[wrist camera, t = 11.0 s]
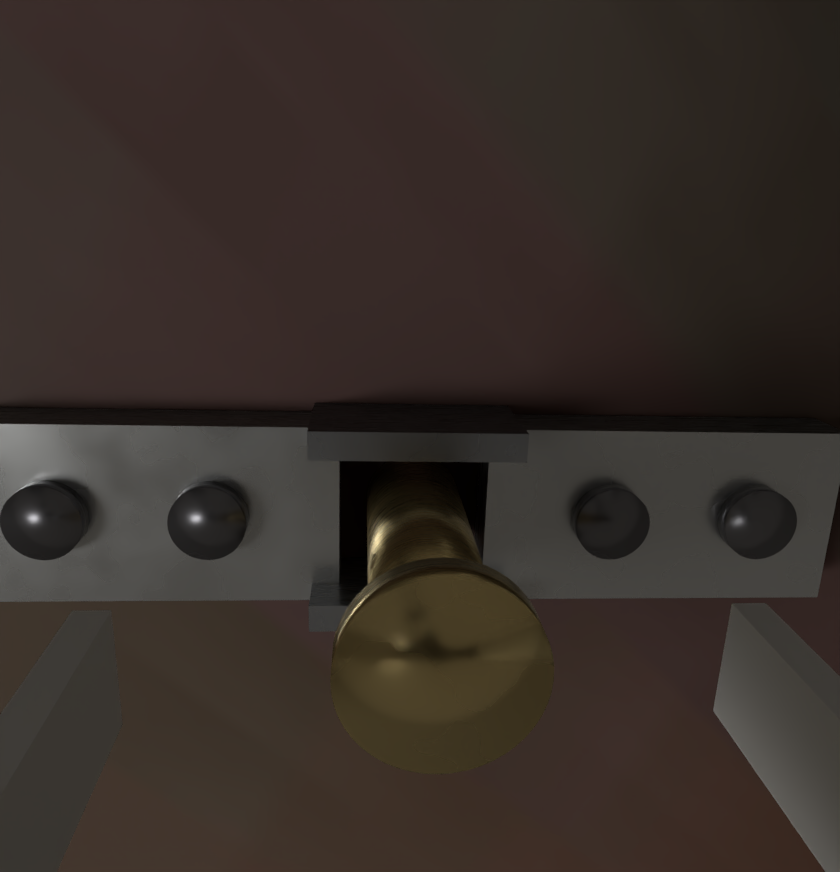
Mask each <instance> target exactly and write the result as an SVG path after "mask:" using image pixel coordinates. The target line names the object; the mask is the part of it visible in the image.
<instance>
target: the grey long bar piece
mask: <svg viewBox="0 0 840 872" xmlns="http://www.w3.org/2000/svg"><path fill="white" fill-rule="evenodd" d="M341 461H397V462H479V467H478V485H477V503H476V520H475V538H474V539H475V542H476V545H477V548H478V551H479V554H480V557H481V560H482V563H483V565H486V566H488V567H490V568H492V569H494V570H496V571H498V572H500V573H501V574H503V575H504V576H506V577H508V578H509V579H510V580H511V581H512V582H514V583H515V584H516V585H517V586H518V587H519V588H520V589H521V590H522V591H523V592H524V594H525V595H526V596H527V597H528V599H566V598H751V597H817V596H818V591H819V586H820V581H821V576H822V571H823V566H824V561H825V555H826V550H827V545H828V540H829V535H830V530H831V525H832V520H833V515H834V510H835V505H836V500H837V495H838V490H839V485H840V429H838V428H835V427H833V426H831V425H829V424H826V423H824V422H822V421H820V420H818V419H815V418H750V417H676V416H601V415H527V414H514V413H513V412H512V411H511V409H510V408H509V407H508V406H488V405H418V404H348V403H315V404H314V407H313V411H312V412H305V411H231V410H157V409H83V408H9V407H0V602H12V601H197V600H310V601H309V631H336V630H337V627H338V625H339V622H340V620H341V617H342V616H343V614H344V612H345V610H346V609H347V607H348V605H349V604H350V603H351V602H352V600H353V599H354V598H355V596H356V595H357V594H358V593H359V592H360V591H361V590H362V589H363V588H364V587H365V586H366V585H368V573H367V558H341Z"/></svg>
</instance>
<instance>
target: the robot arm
mask: <svg viewBox="0 0 840 872" xmlns="http://www.w3.org/2000/svg"><path fill="white" fill-rule="evenodd" d="M713 711H714V712H715V714H716V715H717V717H718V718H719V720H720V721H721V723H722V724H723V725H724V727H725V728H726V730H727V731H728V733H729V734H730V735H731V737H732V738H733V740H734V741H735V743H736V744H737V745H738V747H739V748H740V750H741V751H742V753H743V754H744V756H745V757H746V758H747V760H748V761H749V763H750V764H751V766H752V767H753V768H754V770H755V771H756V773H757V774H758V776H759V777H760V779H761V780H762V781H763V783H764V784H765V786H766V787H767V789H768V790H769V791H770V793H771V794H772V796H773V797H774V799H775V800H776V801H777V803H778V804H779V806H780V807H781V809H782V810H783V812H784V813H785V814H786V816H787V817H788V819H789V820H790V822H791V823H792V824H793V826H794V827H795V829H796V830H797V832H798V833H799V835H800V836H801V837H802V839H803V840H804V842H805V843H806V845H807V846H808V847H809V849H810V850H811V852H812V853H813V855H814V856H815V857H816V859H817V860H818V862H819V863H820V865H821V866H822V868H823V869H824V870H825V872H840V676H839V675H838V674H837V673H836V672H835V671H834V670H833V669H832V668H831V667H830V666H829V665H828V664H827V663H826V662H825V661H824V660H823V659H822V658H821V657H820V656H819V655H818V654H817V653H816V652H815V651H813V650H812V649H811V648H810V647H809V646H808V645H807V644H806V643H805V642H804V641H803V640H802V639H801V638H800V637H799V636H798V635H797V634H796V633H795V632H794V631H793V630H792V629H791V628H790V627H789V626H788V625H787V624H786V623H785V622H784V621H783V620H782V619H781V618H780V617H779V616H778V615H777V614H776V613H775V612H774V611H773V610H772V609H771V608H770V607H769V606H768V605H767V604H766V603H734V604H732V606H731V612H730V618H729V623H728V629H727V635H726V640H725V646H724V652H723V657H722V663H721V669H720V675H719V680H718V686H717V692H716V697H715V703H714V709H713ZM122 725H123V724H122V714H121V704H120V694H119V684H118V674H117V664H116V654H115V644H114V634H113V624H112V613H111V610H103V611H72V612H71V613H70V615H69V616H68V618H67V619H66V620H65V622H64V623H63V625H62V626H61V628H60V629H59V631H58V632H57V633H56V635H55V636H54V638H53V639H52V641H51V642H50V644H49V645H48V646H47V648H46V649H45V651H44V652H43V654H42V655H41V657H40V658H39V659H38V661H37V662H36V664H35V665H34V667H33V668H32V670H31V671H30V672H29V674H28V675H27V677H26V678H25V680H24V681H23V683H22V684H21V685H20V687H19V688H18V690H17V691H16V693H15V694H14V696H13V697H12V698H11V700H10V701H9V703H8V704H7V706H6V707H5V709H4V710H3V711H2V713H1V714H0V872H57V870H58V868H59V866H60V863H61V861H62V859H63V857H64V854H65V852H66V850H67V848H68V846H69V843H70V841H71V839H72V837H73V834H74V832H75V830H76V828H77V825H78V823H79V821H80V819H81V816H82V814H83V812H84V810H85V807H86V805H87V803H88V801H89V798H90V796H91V794H92V792H93V790H94V787H95V785H96V783H97V781H98V778H99V776H100V774H101V772H102V769H103V767H104V765H105V763H106V760H107V758H108V756H109V754H110V751H111V749H112V747H113V745H114V743H115V740H116V738H117V736H118V734H119V731H120V729H121V727H122Z"/></svg>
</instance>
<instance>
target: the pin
mask: <svg viewBox="0 0 840 872" xmlns="http://www.w3.org/2000/svg"><path fill="white" fill-rule="evenodd" d="M367 573H368V585H366V586H365V587H364V588H363V589H362V590H361V591H360V592H359V593H358V594H357V595H356V596H355V598H354V599H353V600H352V602H351V603H350V604H349V605H348V607H347V609H346V610H345V612H344V614H343V616H342V617H341V620H340V622H339V625H338V627H337V630H336V634H335V638H334V642H333V654H332V667H331V681H330V682H331V695H332V699H333V704H334V707H335V710H336V712H337V715H338V718H339V720H340V721H341V723H342V725H343V727H344V728H345V730H346V731H347V732H348V734H349V735H350V736H351V738H352V739H353V740H354V741H355V742H356V743H357V744H358V745H359V746H360V747H361V748H362V749H364V750H365V751H366V752H368V753H369V754H370V755H372V756H373V757H375V758H377V759H379V760H380V761H382V762H384V763H386V764H389V765H391V766H394V767H396V768H399V769H403V770H407V771H411V772H417V773H424V774H446V773H455V772H461V771H466V770H470V769H473V768H476V767H480V766H482V765H484V764H487V763H489V762H492V761H494V760H495V759H497V758H499V757H501V756H503V755H504V754H506V753H507V752H509V751H510V750H511V749H513V748H514V747H516V746H517V745H518V744H519V743H520V742H521V741H522V740H523V739H524V738H525V737H526V736H527V735H528V734H529V733H530V732H531V731H532V729H533V728H534V727H535V726H536V724H537V723H538V721H539V719H540V718H541V716H542V715H543V713H544V710H545V708H546V706H547V704H548V701H549V698H550V695H551V692H552V686H553V681H554V662H553V654H552V651H551V647H550V644H549V641H548V638H547V636H546V634H545V631H544V629H543V627H542V625H541V622H540V620H539V618H538V615H537V613H536V611H535V609H534V607H533V605H532V604H531V602H530V600H529V599H528V597H527V596H526V595H525V594H524V592H523V591H522V590H521V589H520V588H519V587H518V586H517V585H516V584H515V583H514V582H512V581H511V580H510V579H509V578H508V577H506V576H504V575H503V574H501V573H500V572H498V571H496V570H494V569H492V568H490V567H488V566H486V565H483V563H482V560H481V557H480V554H479V551H478V548H477V545H476V542H475V539H474V536H473V533H472V530H471V527H470V525H469V522H468V519H467V516H466V513H465V510H464V507H463V504H462V501H461V498H460V495H459V492H458V489H457V486H456V483H455V480H454V478H453V476H452V474H451V473H450V471H449V470H448V469H447V468H446V467H445V466H444V465H443V464H442V463H441V462H397V461H387V462H385V463H384V464H383V465H381V466H380V467H379V468H378V469H377V471H376V472H375V473H374V475H373V476H372V478H371V480H370V483H369V486H368V490H367Z"/></svg>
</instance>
